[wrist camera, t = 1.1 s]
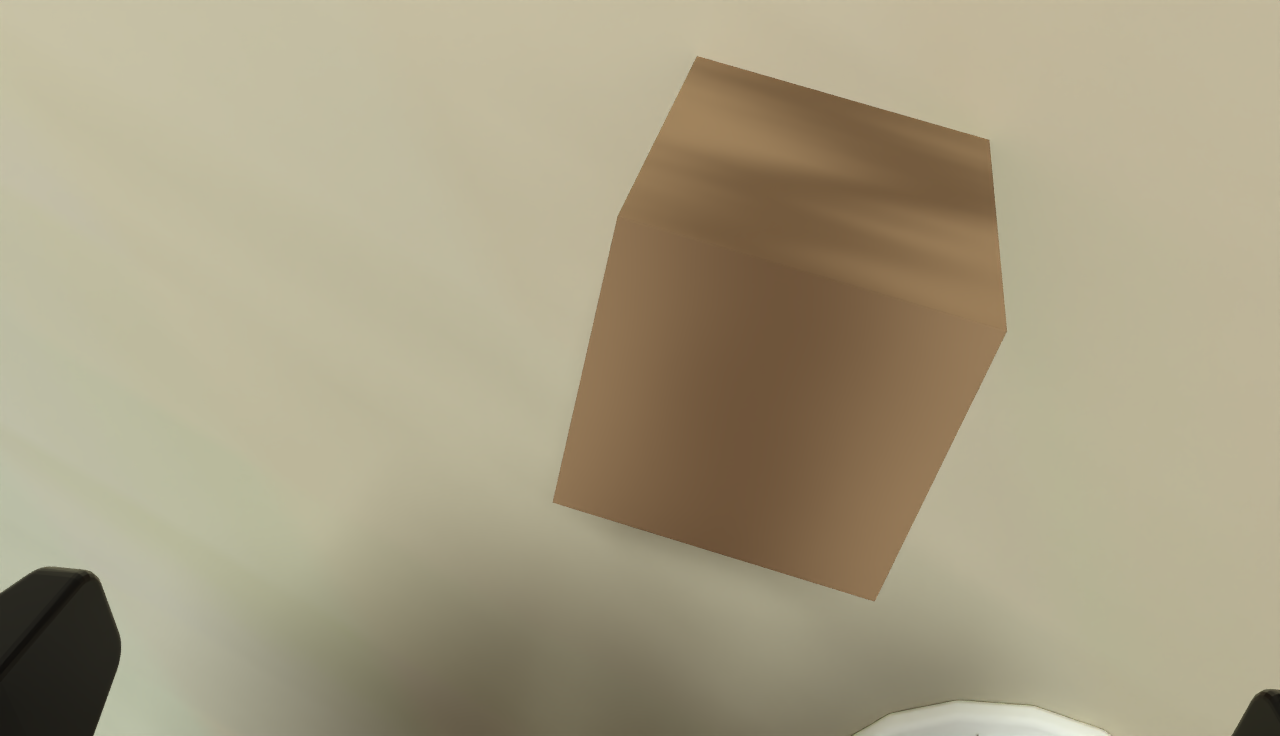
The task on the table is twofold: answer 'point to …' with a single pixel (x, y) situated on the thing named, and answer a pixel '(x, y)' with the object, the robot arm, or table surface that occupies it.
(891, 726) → the decorative candle
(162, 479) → the table surface
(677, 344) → the walnut block
